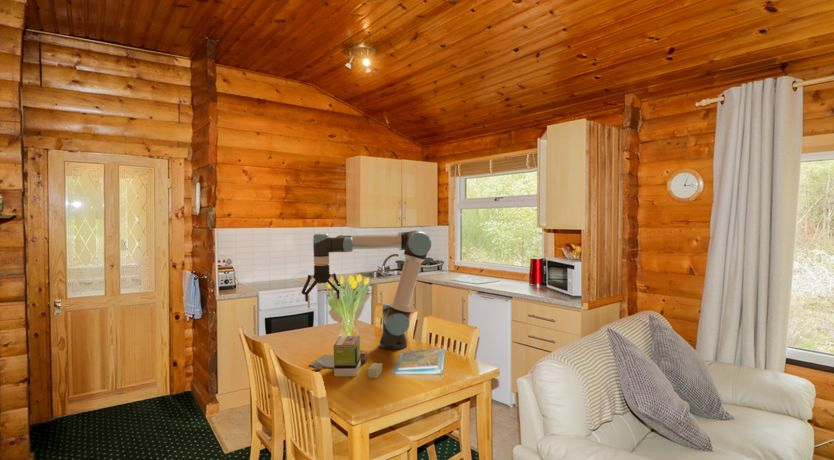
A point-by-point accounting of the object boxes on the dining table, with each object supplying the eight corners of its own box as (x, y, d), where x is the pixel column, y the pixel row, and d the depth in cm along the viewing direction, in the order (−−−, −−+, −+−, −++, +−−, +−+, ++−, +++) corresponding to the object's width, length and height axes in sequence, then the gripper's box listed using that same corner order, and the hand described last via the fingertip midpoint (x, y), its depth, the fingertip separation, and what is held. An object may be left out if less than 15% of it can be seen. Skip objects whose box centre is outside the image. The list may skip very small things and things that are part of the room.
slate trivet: (347, 358, 232) (347, 356, 232) (333, 368, 217) (333, 367, 217) (324, 355, 236) (324, 354, 236) (308, 366, 221) (308, 364, 221)
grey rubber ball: (324, 368, 218) (324, 360, 218) (320, 371, 214) (320, 362, 214) (316, 367, 219) (316, 359, 219) (312, 370, 215) (312, 362, 215)
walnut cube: (366, 360, 229) (366, 350, 229) (365, 363, 224) (365, 353, 224) (356, 360, 229) (356, 350, 229) (355, 363, 224) (354, 353, 224)
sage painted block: (382, 371, 213) (382, 363, 213) (376, 378, 205) (376, 369, 205) (373, 371, 214) (373, 362, 214) (368, 377, 206) (368, 368, 206)
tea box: (340, 365, 222) (339, 334, 221) (361, 365, 222) (360, 334, 221) (333, 376, 207) (333, 344, 206) (356, 376, 207) (355, 344, 206)
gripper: (345, 262, 238) (345, 303, 239) (295, 265, 230) (296, 307, 231) (347, 264, 231) (348, 306, 232) (296, 266, 223) (297, 310, 224)
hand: (322, 306), depth 232 cm, fingers open, 13 cm apart
